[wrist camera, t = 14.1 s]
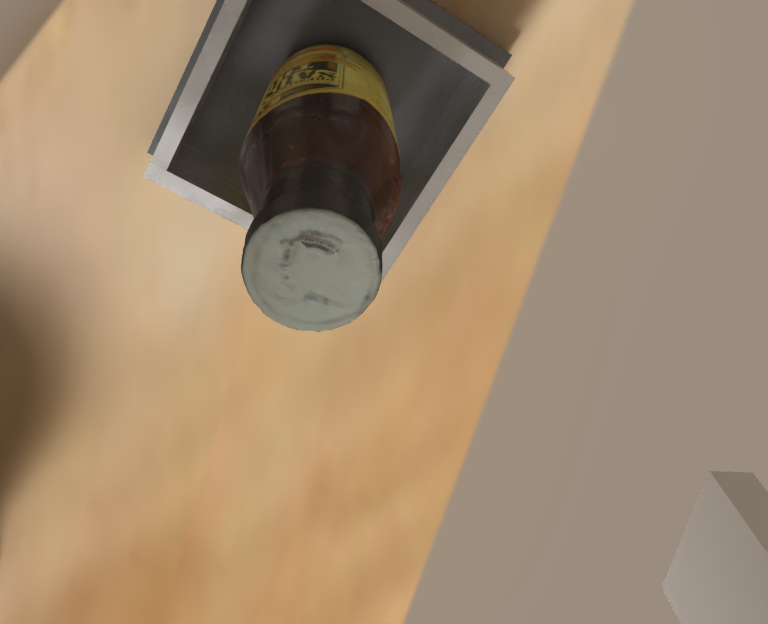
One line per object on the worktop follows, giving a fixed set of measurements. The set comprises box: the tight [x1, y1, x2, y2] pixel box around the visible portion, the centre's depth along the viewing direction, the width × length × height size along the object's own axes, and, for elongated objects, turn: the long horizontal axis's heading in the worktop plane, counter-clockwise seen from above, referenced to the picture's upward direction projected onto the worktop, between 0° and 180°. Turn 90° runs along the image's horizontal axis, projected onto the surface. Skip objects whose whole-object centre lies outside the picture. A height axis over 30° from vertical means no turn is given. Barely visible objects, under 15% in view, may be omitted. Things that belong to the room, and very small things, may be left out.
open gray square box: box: [143, 0, 515, 282], centre depth 36 cm, size 14×14×6 cm
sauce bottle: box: [239, 43, 402, 332], centre depth 29 cm, size 7×6×20 cm
